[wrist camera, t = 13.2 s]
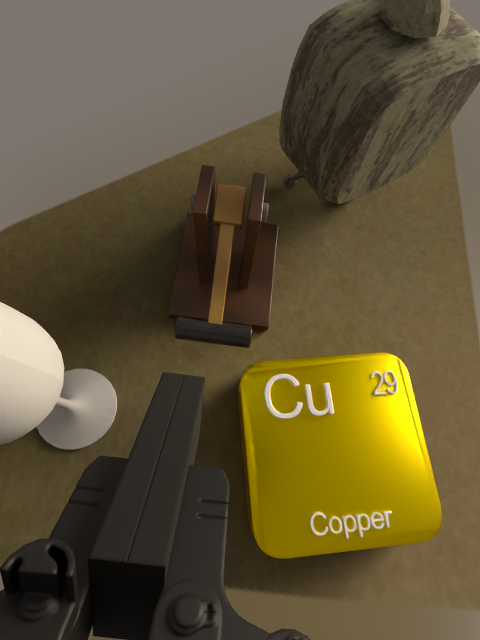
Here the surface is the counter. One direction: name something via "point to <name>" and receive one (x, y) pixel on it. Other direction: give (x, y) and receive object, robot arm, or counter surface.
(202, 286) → the wooden lever stand
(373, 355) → the element tile
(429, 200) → the counter surface
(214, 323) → the lever
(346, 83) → the tabletop clock
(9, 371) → the wineglass
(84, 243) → the counter surface
